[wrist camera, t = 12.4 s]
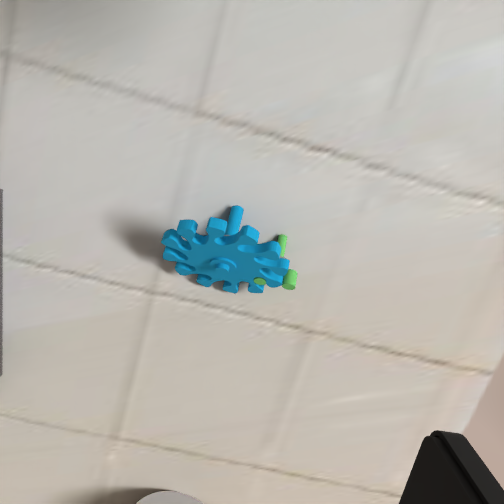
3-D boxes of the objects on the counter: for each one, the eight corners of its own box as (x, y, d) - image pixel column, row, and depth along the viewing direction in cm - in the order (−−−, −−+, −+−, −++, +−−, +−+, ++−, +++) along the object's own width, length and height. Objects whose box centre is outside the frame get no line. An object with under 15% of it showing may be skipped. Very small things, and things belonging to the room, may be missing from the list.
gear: (144, 270, 36) (180, 216, 28) (164, 212, 39) (202, 148, 31) (261, 314, 39) (325, 277, 31) (272, 257, 42) (333, 210, 34)
